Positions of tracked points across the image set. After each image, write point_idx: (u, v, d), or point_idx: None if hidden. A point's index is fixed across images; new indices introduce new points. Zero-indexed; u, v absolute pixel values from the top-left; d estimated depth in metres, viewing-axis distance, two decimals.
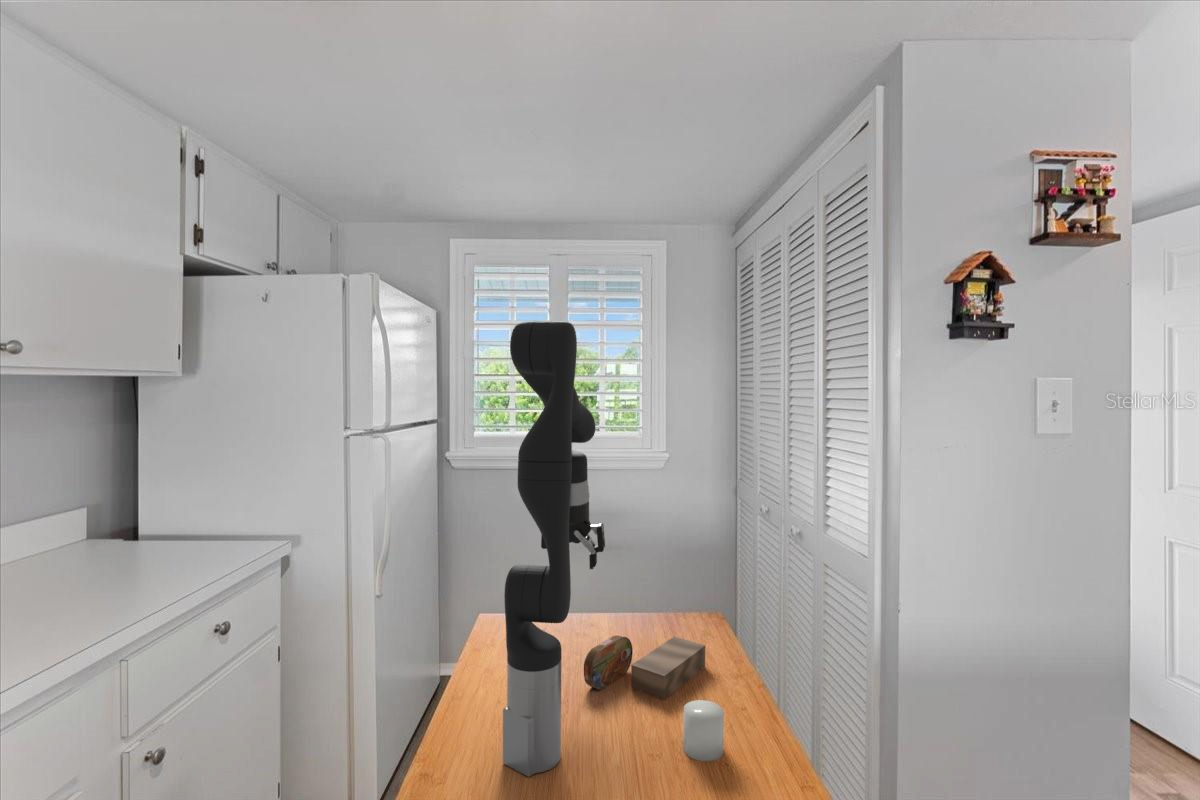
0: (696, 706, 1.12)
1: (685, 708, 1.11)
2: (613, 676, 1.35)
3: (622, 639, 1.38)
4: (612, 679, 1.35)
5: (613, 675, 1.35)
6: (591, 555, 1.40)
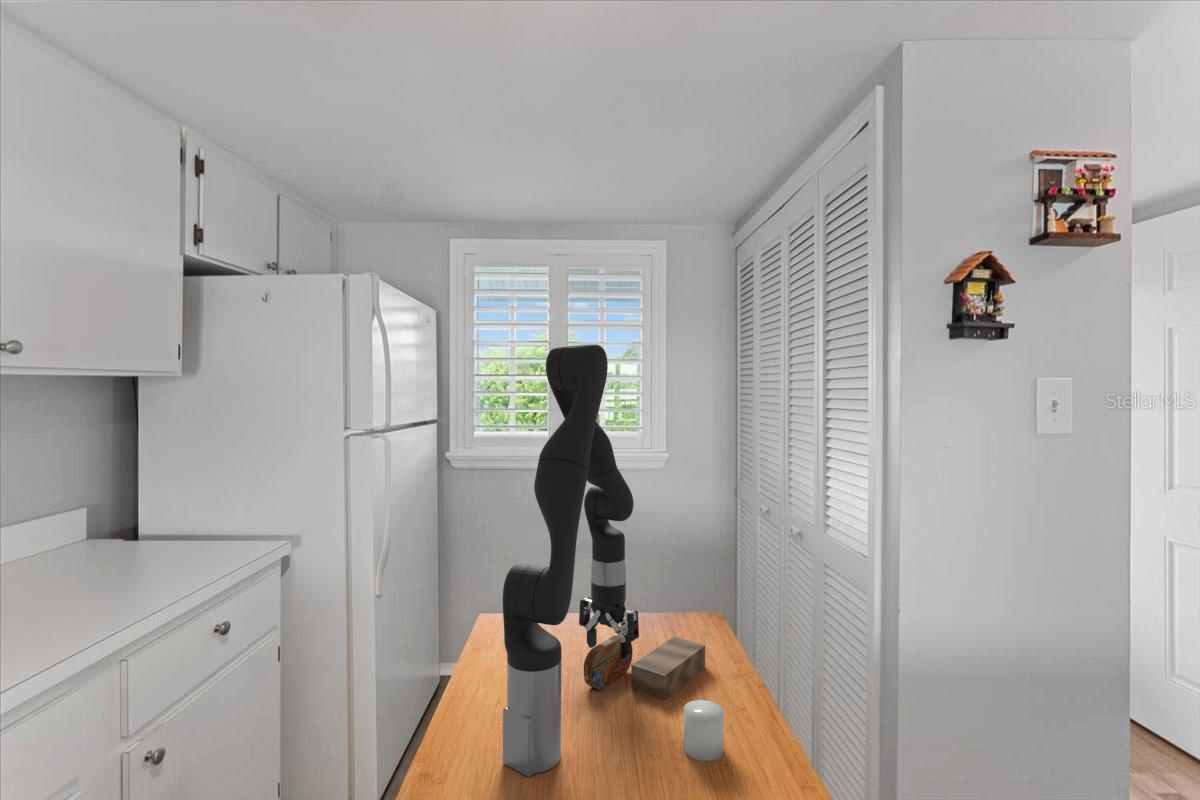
0: (696, 706, 1.12)
1: (685, 708, 1.11)
2: (613, 676, 1.35)
3: None
4: (612, 679, 1.35)
5: (613, 675, 1.35)
6: (622, 643, 1.32)
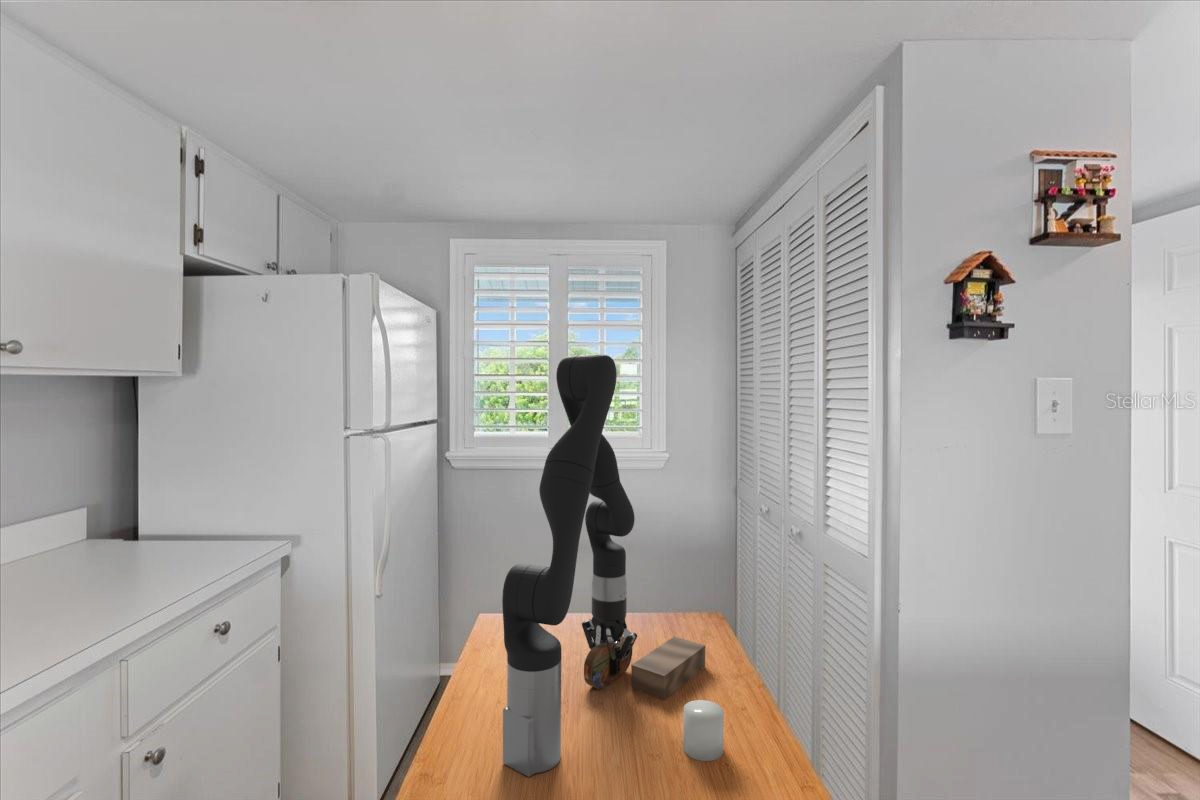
0: (696, 706, 1.12)
1: (685, 708, 1.11)
2: None
3: None
4: (611, 678, 1.35)
5: None
6: (612, 660, 1.33)
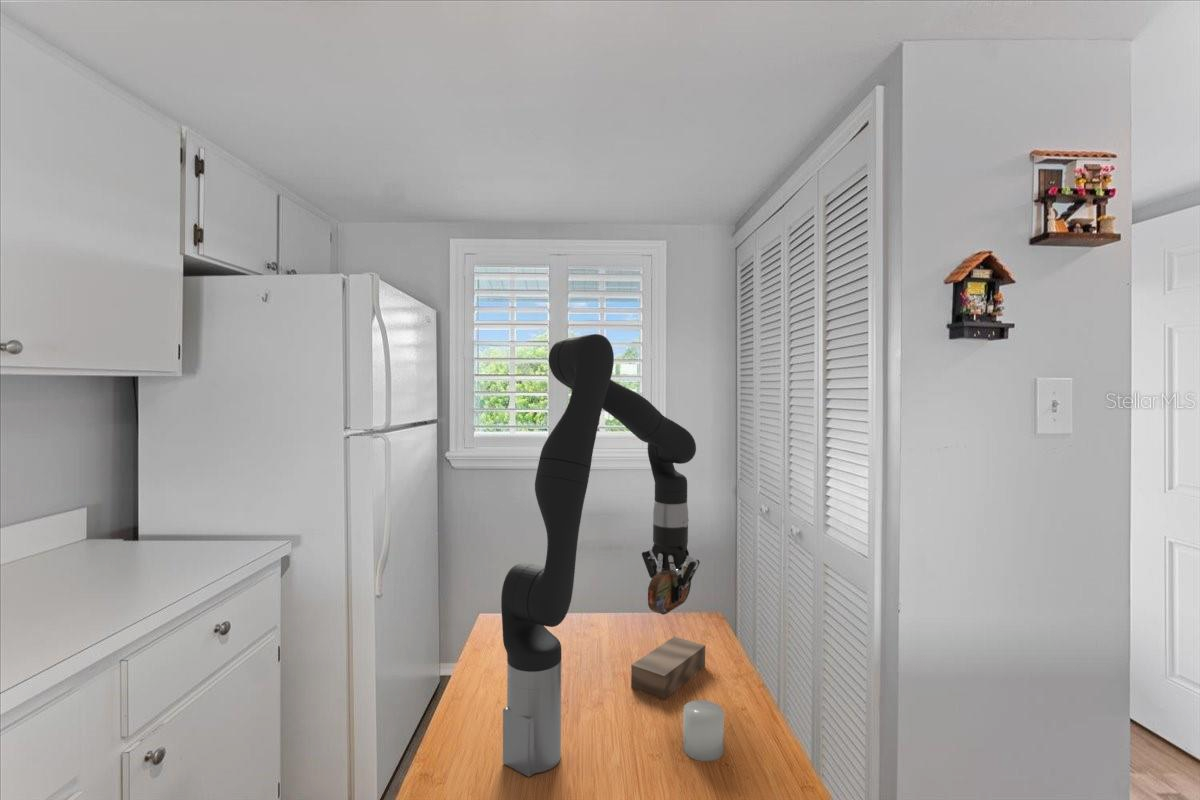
0: (696, 706, 1.12)
1: (685, 708, 1.11)
2: (673, 603, 1.36)
3: None
4: (672, 606, 1.35)
5: None
6: (674, 587, 1.34)
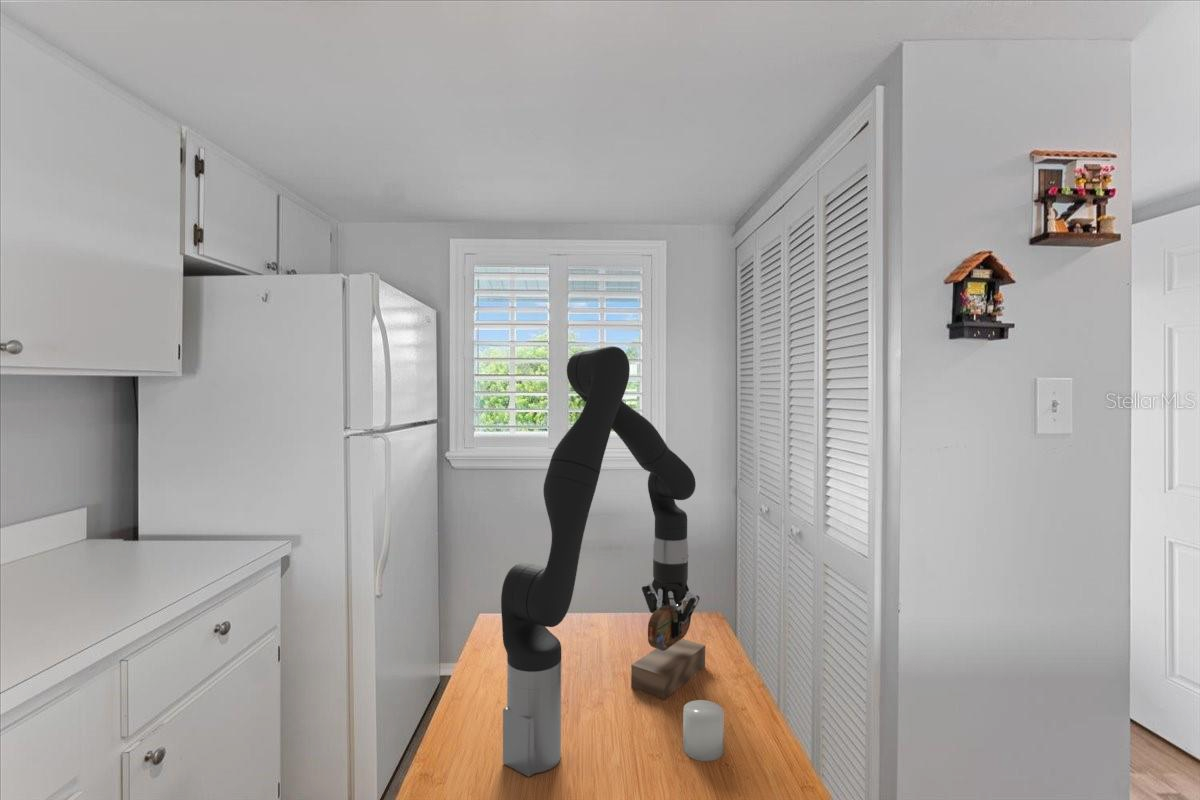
0: (696, 706, 1.12)
1: (685, 708, 1.11)
2: (673, 638, 1.36)
3: None
4: (672, 641, 1.36)
5: None
6: (674, 623, 1.34)
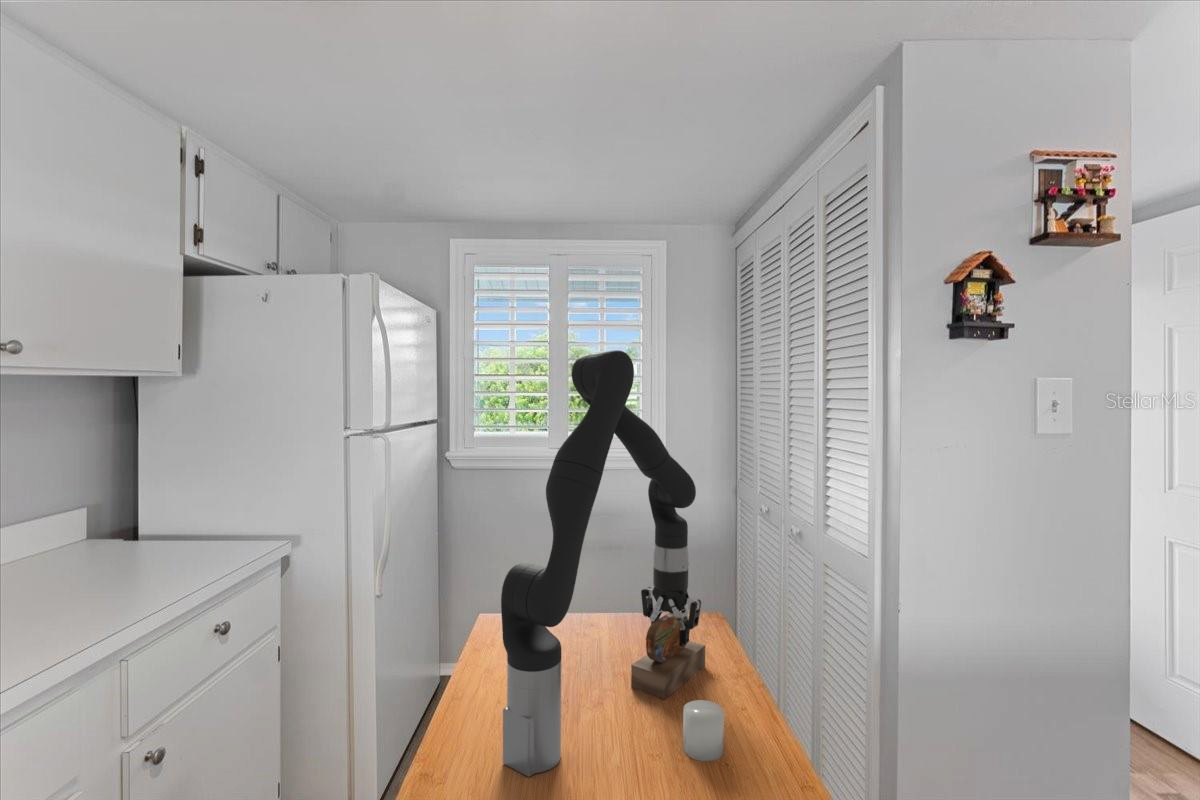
0: (696, 706, 1.12)
1: (685, 708, 1.11)
2: (673, 650, 1.36)
3: None
4: (672, 653, 1.36)
5: (673, 649, 1.37)
6: (681, 631, 1.33)
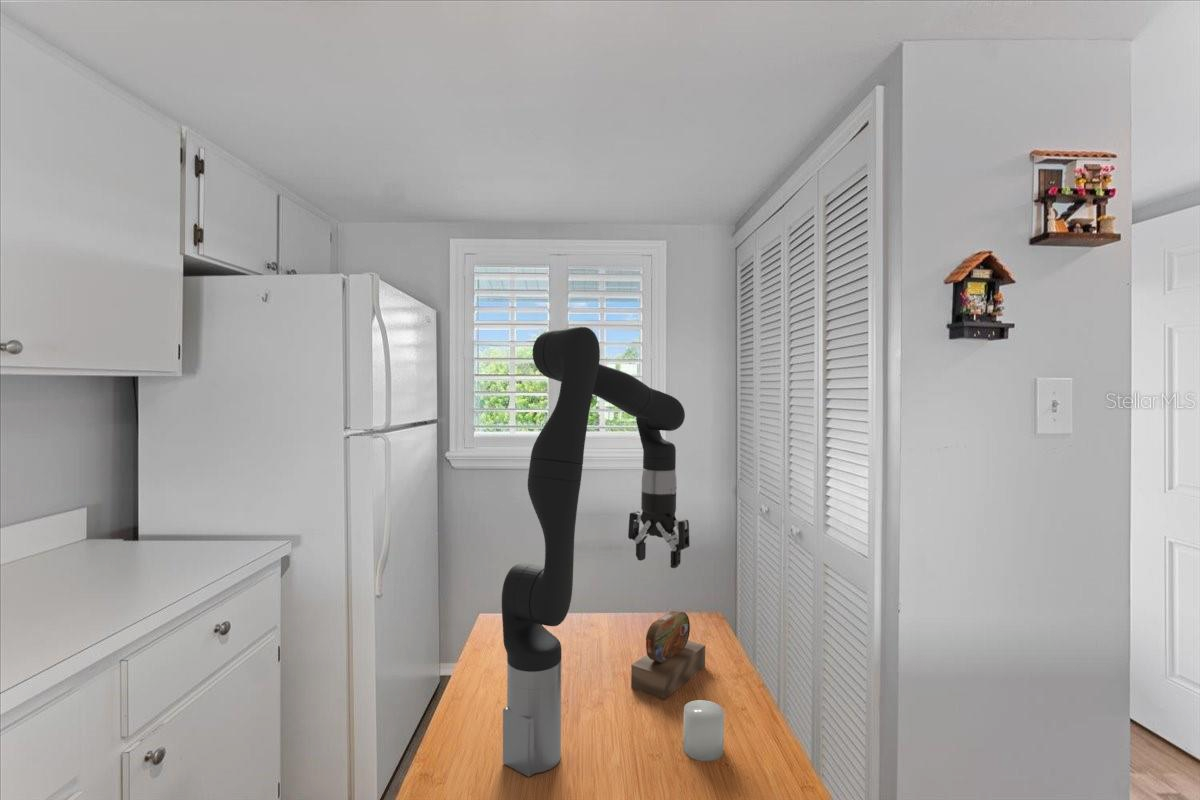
0: (696, 706, 1.12)
1: (685, 708, 1.11)
2: (673, 650, 1.36)
3: (680, 614, 1.40)
4: (672, 653, 1.36)
5: (673, 649, 1.37)
6: (672, 552, 1.33)
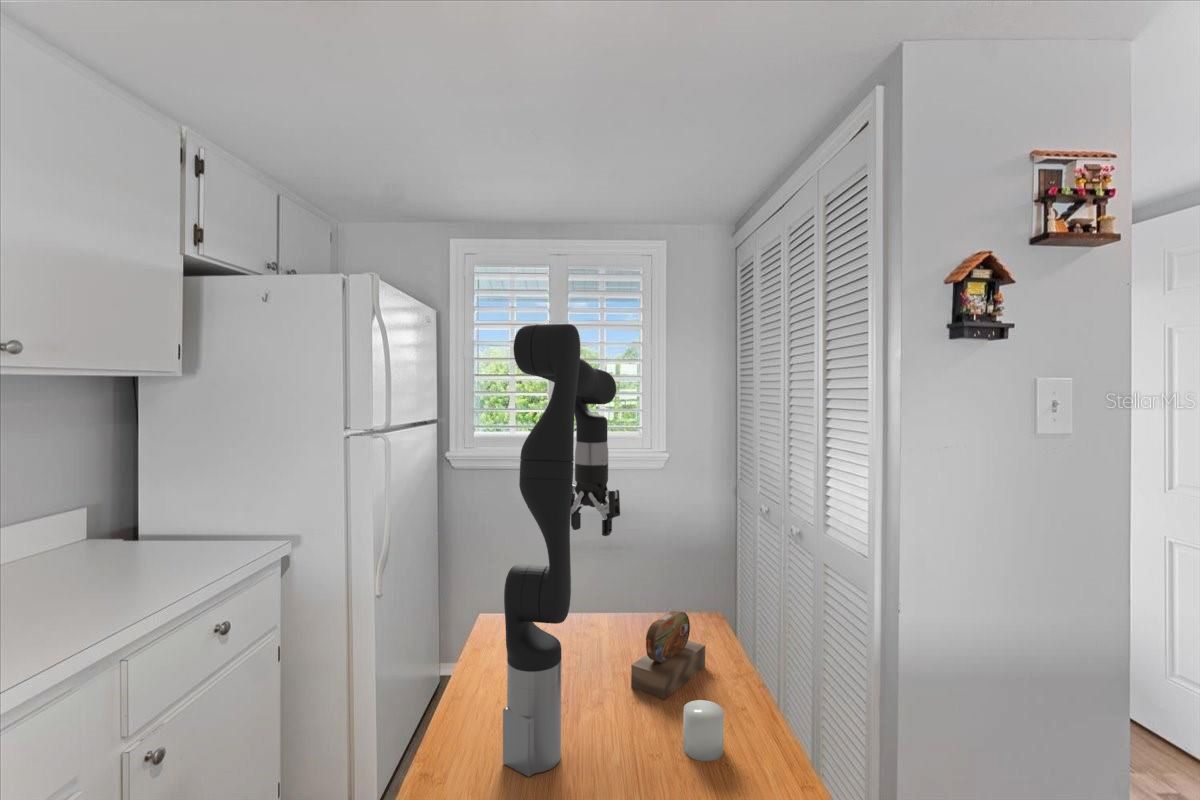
0: (696, 706, 1.12)
1: (685, 708, 1.11)
2: (673, 650, 1.36)
3: (680, 614, 1.40)
4: (672, 653, 1.36)
5: (673, 649, 1.37)
6: (604, 520, 1.39)
